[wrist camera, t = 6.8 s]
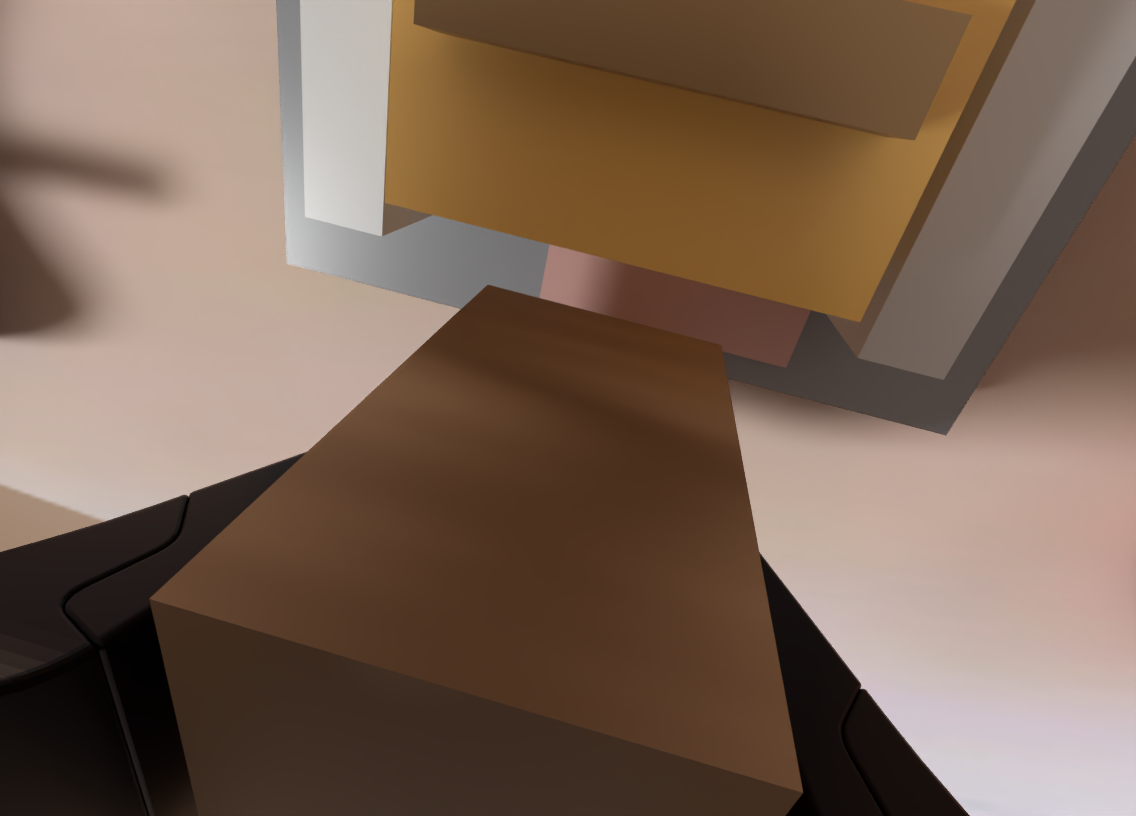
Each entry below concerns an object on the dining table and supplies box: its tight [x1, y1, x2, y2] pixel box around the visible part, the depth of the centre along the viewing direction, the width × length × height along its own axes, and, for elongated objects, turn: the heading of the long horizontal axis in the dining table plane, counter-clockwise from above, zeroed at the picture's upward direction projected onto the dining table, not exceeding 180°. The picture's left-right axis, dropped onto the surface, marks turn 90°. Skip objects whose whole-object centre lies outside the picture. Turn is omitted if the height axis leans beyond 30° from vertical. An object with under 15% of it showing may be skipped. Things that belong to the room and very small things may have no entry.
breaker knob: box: [385, 0, 1016, 322], centre depth 7 cm, size 5×4×6 cm
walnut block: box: [149, 285, 803, 816], centre depth 7 cm, size 4×4×7 cm
